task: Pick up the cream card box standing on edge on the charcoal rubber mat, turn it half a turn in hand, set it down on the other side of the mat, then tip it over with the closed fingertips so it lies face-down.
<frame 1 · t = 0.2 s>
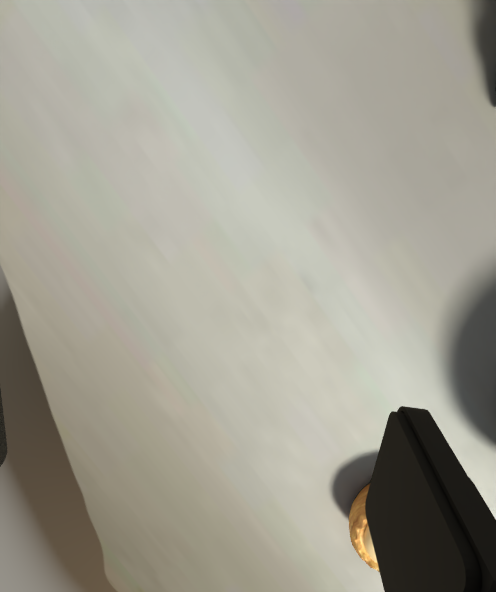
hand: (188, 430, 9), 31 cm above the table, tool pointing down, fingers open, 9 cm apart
pastry: (393, 504, 49), on the table
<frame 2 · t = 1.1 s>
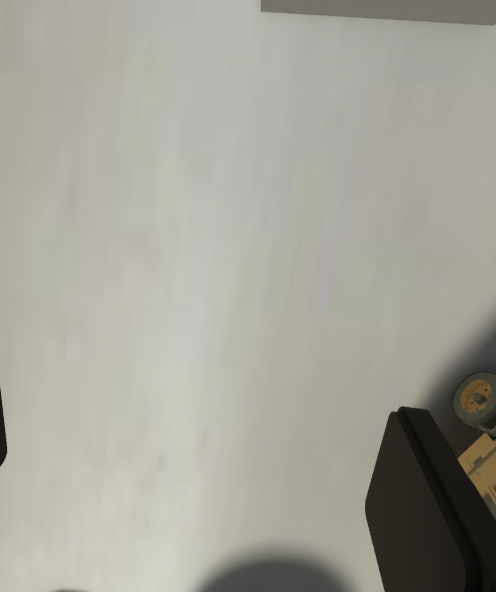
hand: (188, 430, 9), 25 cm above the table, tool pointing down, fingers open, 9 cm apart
toy car: (458, 446, 39), on the table
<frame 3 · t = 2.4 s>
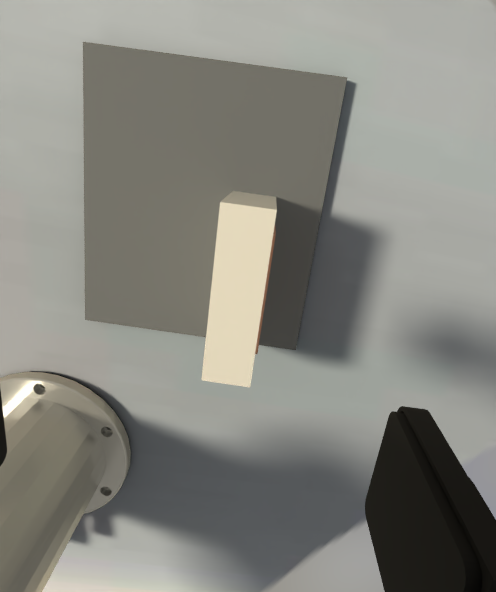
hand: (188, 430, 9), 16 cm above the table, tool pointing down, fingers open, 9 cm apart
card box: (244, 268, 25), point 1 cm above the table, touching mat
mat: (202, 211, 24), on the table
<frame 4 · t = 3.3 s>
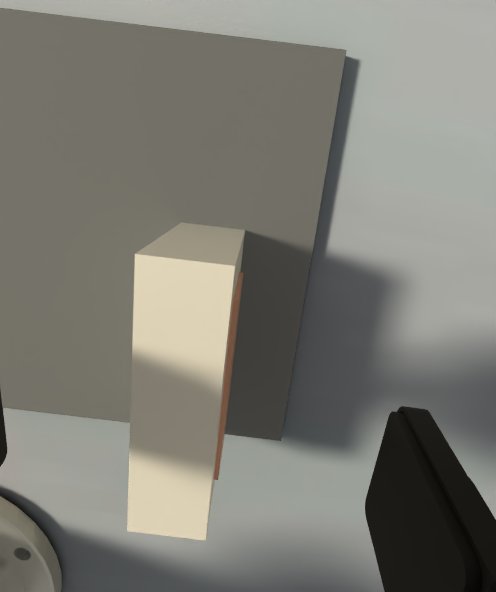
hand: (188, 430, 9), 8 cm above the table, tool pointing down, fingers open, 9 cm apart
card box: (204, 331, 17), point 1 cm above the table, touching mat
mat: (140, 251, 17), on the table
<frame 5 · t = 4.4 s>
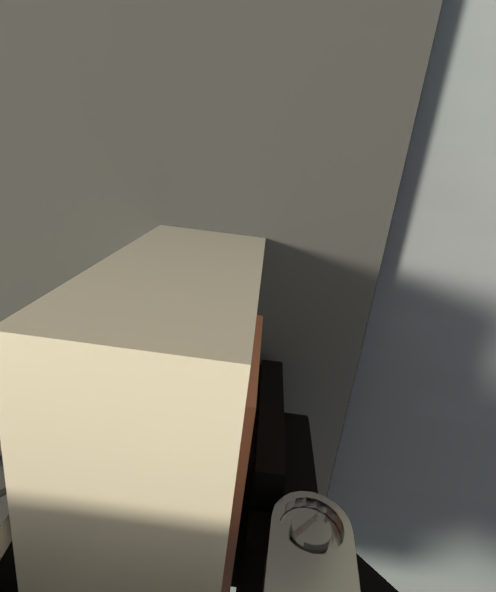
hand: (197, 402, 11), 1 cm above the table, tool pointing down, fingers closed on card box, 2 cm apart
card box: (199, 394, 11), point 1 cm above the table, touching gripper
mat: (99, 269, 11), on the table
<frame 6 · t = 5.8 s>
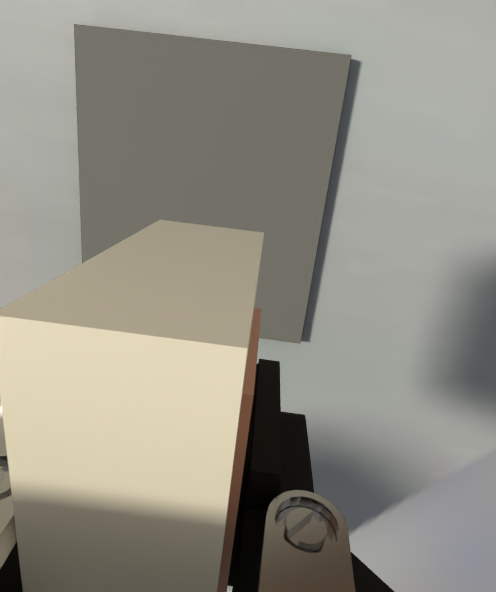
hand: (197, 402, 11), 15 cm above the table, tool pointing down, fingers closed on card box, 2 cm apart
card box: (198, 388, 11), point 14 cm above the table, touching gripper
mat: (201, 200, 23), on the table
when the fingers open (2 cm above the table, at t = 9.1 s): card box stays where it is, resting on mat.
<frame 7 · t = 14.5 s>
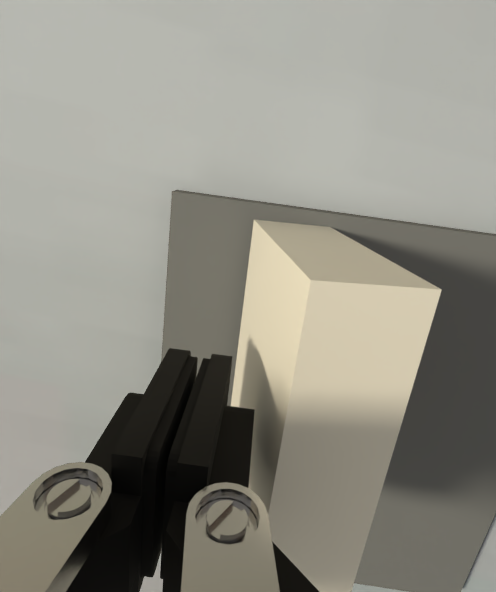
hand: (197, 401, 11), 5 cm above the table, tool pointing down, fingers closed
card box: (272, 350, 14), point 1 cm above the table, tilted 12°, touching mat
mat: (336, 419, 16), on the table
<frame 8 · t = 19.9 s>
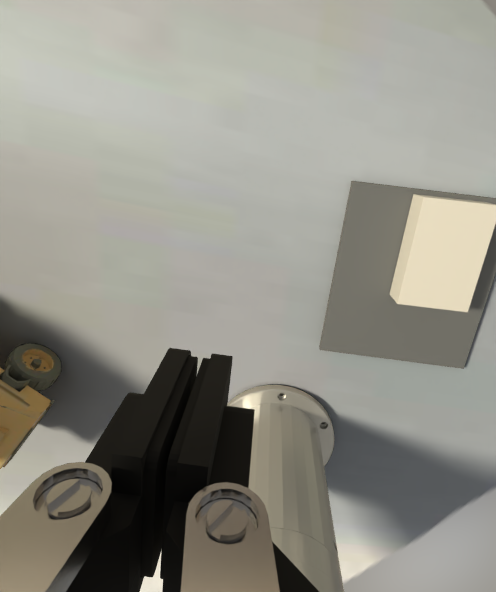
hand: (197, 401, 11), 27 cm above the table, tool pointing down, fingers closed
card box: (405, 249, 34), point 2 cm above the table, tilted 90°, touching mat
mat: (410, 279, 37), on the table
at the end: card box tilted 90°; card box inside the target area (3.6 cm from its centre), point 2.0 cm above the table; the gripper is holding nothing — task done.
